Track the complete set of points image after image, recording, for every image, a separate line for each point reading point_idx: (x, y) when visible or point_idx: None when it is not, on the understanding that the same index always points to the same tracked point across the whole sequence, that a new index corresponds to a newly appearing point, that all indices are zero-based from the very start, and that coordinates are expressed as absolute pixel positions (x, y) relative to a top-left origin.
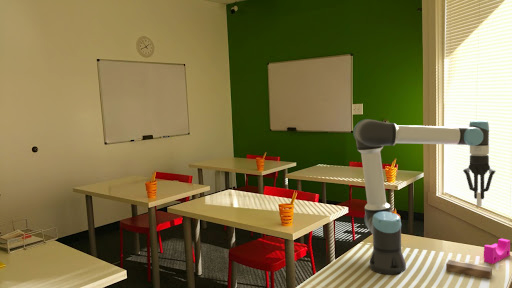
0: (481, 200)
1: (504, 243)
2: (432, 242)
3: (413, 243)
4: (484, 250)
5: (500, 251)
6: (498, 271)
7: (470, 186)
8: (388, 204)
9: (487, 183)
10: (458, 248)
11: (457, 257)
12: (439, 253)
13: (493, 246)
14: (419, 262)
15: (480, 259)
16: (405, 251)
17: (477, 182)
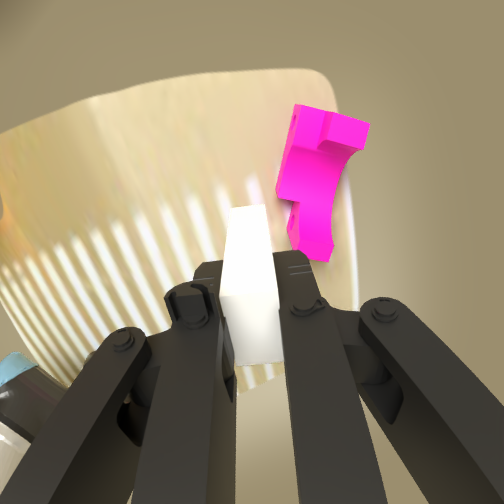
0: (267, 225)
1: (349, 147)
2: (72, 145)
3: (43, 201)
4: (293, 247)
5: (331, 166)
6: (336, 277)
7: (139, 429)
8: (23, 446)
9: (417, 465)
10: (166, 144)
11: (203, 239)
12: (143, 238)
13: (327, 246)
14: (147, 331)
15: (270, 211)
16: (74, 281)
17: (223, 479)
